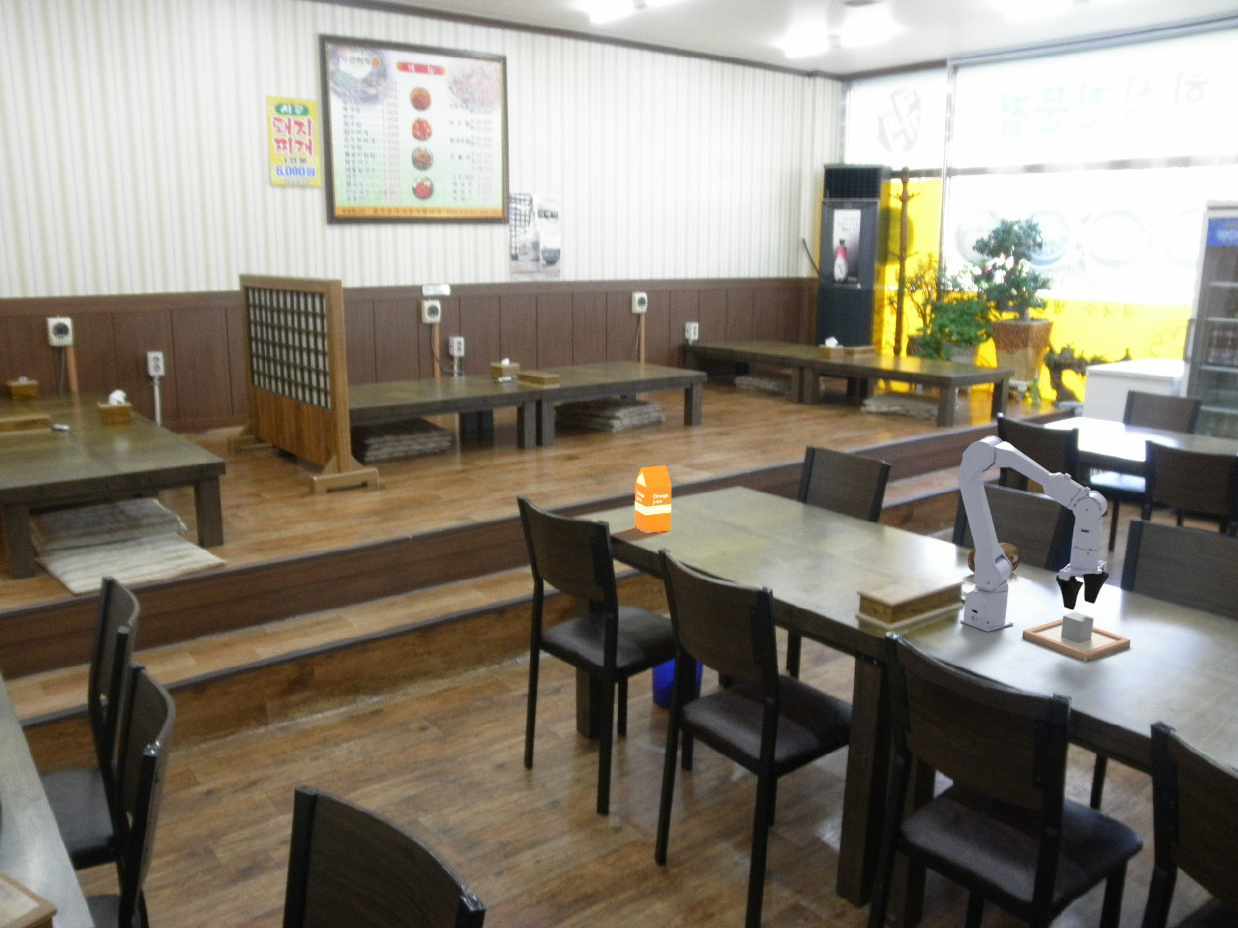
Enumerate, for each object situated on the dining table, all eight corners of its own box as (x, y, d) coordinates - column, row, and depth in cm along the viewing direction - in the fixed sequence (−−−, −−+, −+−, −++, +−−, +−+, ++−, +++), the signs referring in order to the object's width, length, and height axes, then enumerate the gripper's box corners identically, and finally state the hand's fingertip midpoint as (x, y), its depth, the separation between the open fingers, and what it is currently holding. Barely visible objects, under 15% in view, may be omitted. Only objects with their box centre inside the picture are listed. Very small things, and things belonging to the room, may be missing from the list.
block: (1079, 643, 229) (1081, 621, 228) (1061, 636, 233) (1063, 615, 232) (1091, 638, 232) (1093, 617, 231) (1072, 632, 235) (1075, 611, 234)
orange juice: (634, 527, 321) (635, 465, 317) (659, 524, 325) (660, 462, 321) (645, 534, 314) (646, 470, 310) (671, 531, 318) (672, 467, 314)
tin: (971, 577, 277) (973, 547, 275) (964, 573, 280) (967, 544, 278) (1019, 573, 281) (1022, 543, 279) (1012, 569, 284) (1015, 540, 282)
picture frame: (1086, 661, 222) (1087, 654, 221) (1022, 637, 235) (1023, 630, 234) (1129, 646, 230) (1130, 639, 230) (1065, 624, 243) (1066, 617, 243)
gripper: (1082, 556, 221) (1075, 616, 223) (1122, 546, 228) (1115, 604, 231) (1053, 548, 226) (1047, 606, 229) (1093, 538, 234) (1086, 595, 237)
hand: (1079, 605), depth 231 cm, fingers open, 7 cm apart
